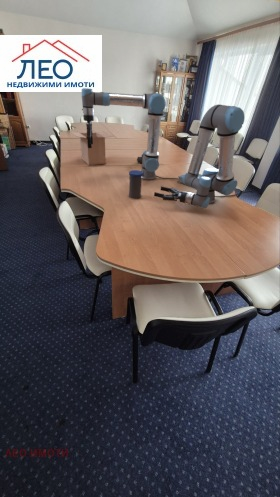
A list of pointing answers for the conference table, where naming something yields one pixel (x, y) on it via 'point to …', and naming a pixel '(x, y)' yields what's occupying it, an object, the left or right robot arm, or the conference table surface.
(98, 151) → the box
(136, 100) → the left robot arm
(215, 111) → the right robot arm
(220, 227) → the conference table surface
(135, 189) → the jar
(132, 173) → the lid
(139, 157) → the laser sight
